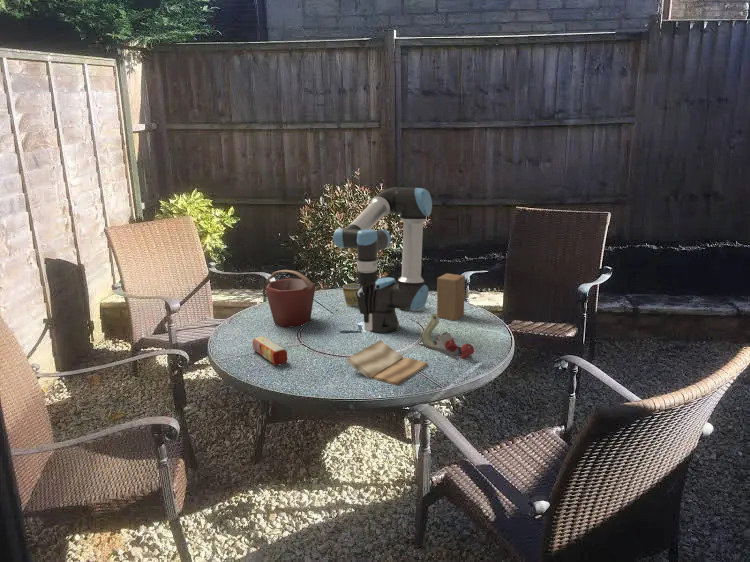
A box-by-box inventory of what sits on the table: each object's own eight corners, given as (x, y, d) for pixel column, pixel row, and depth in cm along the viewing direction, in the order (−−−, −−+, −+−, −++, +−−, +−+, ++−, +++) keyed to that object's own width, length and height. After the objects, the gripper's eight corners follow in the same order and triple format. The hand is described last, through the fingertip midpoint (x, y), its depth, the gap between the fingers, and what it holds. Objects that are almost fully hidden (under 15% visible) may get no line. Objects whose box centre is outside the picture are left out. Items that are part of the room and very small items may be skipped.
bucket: (258, 321, 304) (255, 271, 297) (294, 310, 319) (291, 262, 313) (291, 332, 288) (288, 280, 281) (327, 320, 303) (325, 270, 297)
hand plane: (428, 340, 276) (428, 308, 272) (478, 362, 251) (479, 327, 248) (416, 344, 272) (416, 311, 268) (465, 367, 248) (465, 331, 244)
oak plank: (374, 381, 235) (374, 376, 234) (405, 362, 252) (405, 357, 252) (397, 387, 229) (397, 382, 229) (427, 367, 247) (427, 362, 246)
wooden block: (464, 315, 308) (465, 275, 303) (455, 320, 300) (456, 280, 295) (445, 311, 313) (446, 273, 308) (436, 317, 305) (437, 277, 300)
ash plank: (346, 361, 240) (348, 357, 240) (378, 343, 258) (380, 340, 257) (372, 381, 236) (373, 377, 235) (403, 362, 253) (404, 358, 252)
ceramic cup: (355, 308, 321) (354, 289, 318) (339, 305, 326) (338, 287, 324) (369, 302, 331) (368, 283, 329) (353, 299, 337) (353, 281, 334)
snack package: (251, 351, 267) (250, 336, 265) (266, 348, 270) (265, 333, 269) (273, 367, 250) (272, 351, 248) (288, 363, 253) (287, 348, 252)
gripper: (365, 275, 232) (366, 336, 238) (385, 268, 242) (385, 326, 248) (349, 273, 236) (350, 332, 242) (369, 266, 246) (370, 323, 252)
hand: (368, 329), depth 245 cm, fingers closed
